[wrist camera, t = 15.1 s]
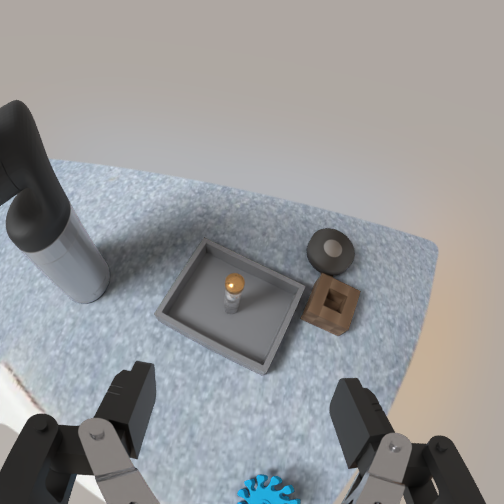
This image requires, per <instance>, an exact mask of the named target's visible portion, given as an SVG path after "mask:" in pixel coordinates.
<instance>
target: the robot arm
mask: <svg viewBox="0 0 504 504" xmlns="http://www.w3.org/2000/svg"><path fill="white" fill-rule="evenodd" d="M15 195H17V196H16V197H15V198H14V200H13V202H12V203H11V205H10V207H9V210H8V213H7V217H6V230H7V233H8V236H9V238H10V239H11V240H12V242H13V243H14V244H15V245H16V246H17V247H18V248H19V249H20V250H21V251H22V252H23V253H24V255H25V256H26V257H27V258H28V259H29V260H30V261H31V262H32V263H33V264H34V265H35V266H36V267H37V268H38V269H39V270H40V271H41V272H42V273H43V274H44V275H45V276H46V277H47V278H49V279H50V280H51V281H52V282H53V283H54V284H55V285H56V286H57V287H58V288H59V289H60V290H61V291H62V292H63V293H65V294H66V295H67V296H68V297H69V298H70V299H72V300H73V301H75V302H77V303H81V304H84V303H90V302H93V301H95V300H96V299H98V298H99V297H100V296H101V295H102V294H103V293H104V292H105V290H106V288H107V286H108V283H109V279H110V271H109V267H108V265H107V263H106V262H105V260H104V258H103V257H102V255H101V254H100V252H99V250H98V249H97V247H96V246H95V244H94V242H93V241H92V239H91V238H90V236H89V234H88V233H87V231H86V229H85V228H84V226H83V224H82V223H81V221H80V219H79V217H78V216H77V214H76V212H75V210H74V209H73V207H72V205H71V203H70V201H69V199H68V198H67V196H66V194H65V192H64V191H63V189H62V187H61V185H60V183H59V181H58V179H57V177H56V175H55V173H54V171H53V169H52V166H51V164H50V162H49V159H48V157H47V154H46V152H45V149H44V146H43V143H42V140H41V138H40V134H39V132H38V129H37V126H36V124H35V121H34V119H33V116H32V114H31V112H30V110H29V109H28V108H27V106H26V105H25V104H24V103H23V102H21V101H19V100H15V101H12V102H10V103H8V104H6V105H4V106H3V107H1V108H0V206H1V205H2V204H4V203H5V202H7V201H8V200H9V199H11V198H12V197H14V196H15ZM155 399H156V381H155V368H154V364H152V363H146V362H141V361H136V362H135V364H134V366H133V368H132V370H131V371H127V370H123V371H121V372H120V373H119V374H117V375H116V376H115V377H114V379H113V381H112V383H111V386H110V387H109V389H108V391H107V393H106V395H105V396H104V398H103V400H102V402H101V404H100V406H99V408H98V410H97V412H96V414H95V416H94V418H91V419H87V420H85V421H84V422H83V423H81V425H80V426H68V425H58V424H57V422H56V420H55V419H54V418H53V417H52V416H50V415H47V414H36V415H33V416H32V417H30V418H29V419H28V420H27V422H26V424H25V426H24V427H23V429H22V431H21V433H20V434H19V436H18V438H17V440H16V442H15V444H14V445H13V447H12V449H11V451H10V453H9V455H8V457H7V459H6V461H5V463H4V465H3V467H2V469H1V471H0V504H68V501H69V498H70V495H71V491H72V488H73V485H74V482H75V479H76V476H77V474H79V475H95V479H96V482H97V484H98V486H99V489H100V491H101V493H102V495H103V497H104V499H105V501H106V503H107V504H160V503H159V502H158V500H157V499H156V497H155V496H154V494H153V493H152V491H151V490H150V488H149V487H148V485H147V483H146V482H145V480H144V478H143V477H142V475H141V474H140V472H139V471H138V469H137V468H135V467H134V465H133V463H132V462H131V460H130V458H134V459H138V456H139V452H140V449H141V446H142V442H143V439H144V436H145V432H146V429H147V426H148V423H149V419H150V416H151V413H152V410H153V407H154V404H155ZM330 416H331V419H332V422H333V425H334V428H335V430H336V433H337V436H338V439H339V442H340V445H341V448H342V451H343V454H344V457H345V460H346V463H347V466H348V469H351V468H358V469H359V473H358V474H357V476H356V478H355V479H354V482H353V483H352V485H351V487H350V489H349V491H348V493H347V494H346V496H345V498H344V500H343V502H342V503H341V504H400V501H401V498H402V495H404V499H405V501H406V504H486V503H485V501H484V499H483V497H482V495H481V493H480V491H479V489H478V487H477V485H476V483H475V482H474V480H473V478H472V476H471V474H470V472H469V470H468V468H467V466H466V465H465V463H464V461H463V459H462V457H461V456H460V454H459V452H458V450H457V449H456V447H455V445H454V443H453V442H452V441H451V440H450V439H449V438H447V437H445V436H434V437H432V438H431V439H430V441H429V442H428V443H427V444H419V443H417V444H416V443H411V442H410V440H409V439H408V438H407V437H406V436H404V435H402V434H399V433H395V431H394V430H393V428H392V426H391V424H390V422H389V420H388V418H387V416H386V415H385V413H384V411H382V407H381V405H380V404H379V402H378V400H377V398H376V396H375V395H374V394H373V393H372V392H371V391H370V390H369V389H367V388H363V387H362V385H361V383H360V381H359V379H358V378H342V379H340V380H339V382H338V385H337V387H336V390H335V392H334V395H333V398H332V400H331V403H330ZM432 478H433V479H434V481H435V483H436V485H437V488H438V490H439V496H438V494H437V492H436V489H435V487H434V485H433V482H432V480H431V479H432Z"/></svg>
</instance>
